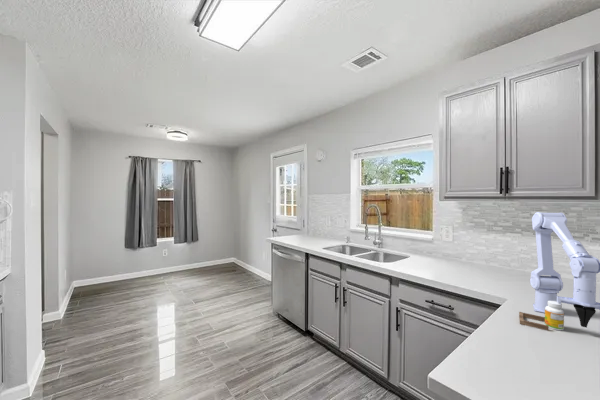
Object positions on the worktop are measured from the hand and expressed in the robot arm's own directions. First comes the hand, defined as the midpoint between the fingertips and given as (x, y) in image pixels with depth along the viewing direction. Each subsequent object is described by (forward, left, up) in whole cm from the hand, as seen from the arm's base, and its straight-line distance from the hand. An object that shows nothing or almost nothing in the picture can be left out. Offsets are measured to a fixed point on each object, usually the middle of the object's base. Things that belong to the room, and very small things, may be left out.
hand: (583, 326), depth 99 cm
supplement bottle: (0, -8, -3) cm, 8 cm away
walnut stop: (0, -13, -3) cm, 14 cm away
